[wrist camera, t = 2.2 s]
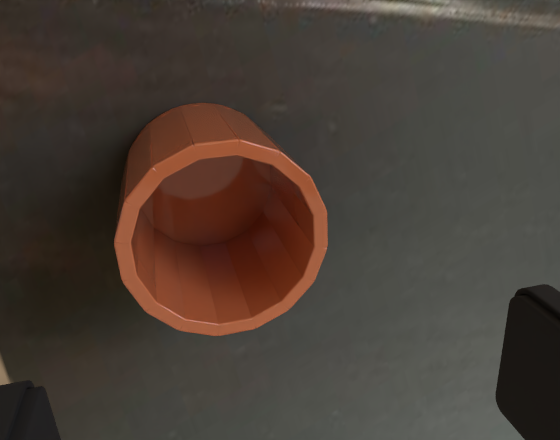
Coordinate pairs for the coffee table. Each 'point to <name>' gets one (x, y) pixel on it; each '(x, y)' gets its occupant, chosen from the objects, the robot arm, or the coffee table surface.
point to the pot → (216, 222)
